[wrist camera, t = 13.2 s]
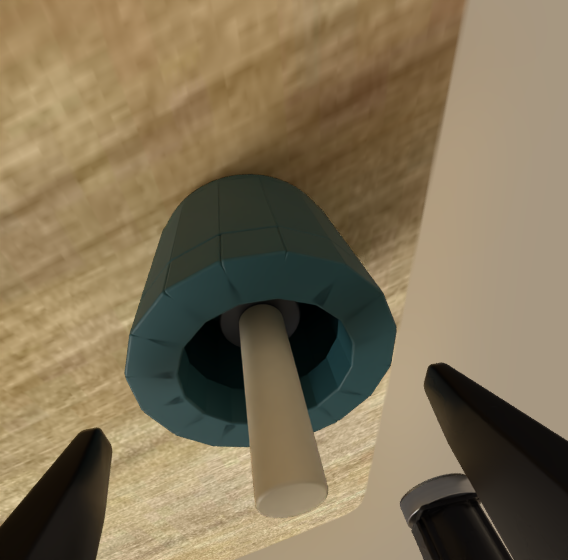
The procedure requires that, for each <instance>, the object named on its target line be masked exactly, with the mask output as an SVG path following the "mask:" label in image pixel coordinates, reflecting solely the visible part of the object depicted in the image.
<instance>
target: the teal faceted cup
mask: <svg viewBox="0 0 568 560" xmlns="http://www.w3.org/2000/svg"><path fill="white" fill-rule="evenodd" d="M272 299H284V300H290V301H296V302H298V304H299V307H300V311H301V317H300V322H299V324H298V327H297V329H296V330H295V332H294V333H293V334H292V335H291V336H290V337H289V338H288V339H289V343H290V347H291V350H292V354H293V358H294V362H295V365H296V369H297V373H298V376H299V380H300V384H301V388H302V391H303V395H304V399H305V403H306V406H307V410H308V414H309V418H310V421H311V425H312V429H313V432H316V431H318V430H320V429H322V428H325V427H327V426H329V425H331V424H333V423H336V422H337V420H340V419H342V418H343V417H344V416H346V415H347V414H348V413H349V412H351V411H352V410H353V409H354V408H356V407H357V406H358V405H359V404H361V403H362V402H363V401H364V400H366V399H367V398H368V397H369V396H371V394H372V393H373V391H374V390H375V388H376V387H377V385H378V384H379V382H380V381H381V379H382V378H383V377H384V375H385V374H386V372H387V371H388V369H389V368H390V366H391V361H392V355H393V349H394V343H395V337H396V331H397V330H396V324H395V322H394V319H393V316H392V314H391V311H390V309H389V306H388V304H387V301H386V299H385V296H384V293H383V292H382V291H381V289H380V288H379V287H378V285H377V284H376V283H375V281H374V280H373V279H372V277H371V276H370V274H369V273H368V272H367V270H366V269H365V268H364V266H363V265H362V263H361V262H360V261H359V259H358V258H357V257H356V255H355V254H354V253H353V251H352V250H351V249H350V247H349V246H348V244H347V243H346V242H345V240H344V239H343V238H342V236H341V235H340V234H339V232H338V231H337V230H336V228H335V227H334V226H333V224H332V223H331V221H330V220H329V219H328V217H327V216H326V215H325V213H324V212H323V211H322V209H321V208H319V207H318V206H317V205H316V204H315V203H314V202H313V201H312V200H311V199H310V198H309V197H308V196H307V195H306V194H305V193H303V192H302V191H301V190H299V189H298V188H297V187H295V186H293V185H291V184H289V183H287V182H285V181H282V180H279V179H277V178H273V177H268V176H264V175H253V174H246V175H234V176H229V177H224V178H221V179H218V180H215V181H212V182H210V183H208V184H206V185H204V186H202V187H200V188H199V189H197V190H196V191H194V192H193V193H191V194H190V195H189V196H188V197H187V198H186V199H185V200H183V201H182V202H181V204H180V205H179V206H178V207H177V208H176V210H175V211H174V212H173V214H172V216H171V217H170V219H169V221H168V223H167V225H166V226H165V228H164V229H163V232H162V234H161V238H160V241H159V244H158V247H157V250H156V253H155V256H154V259H153V262H152V266H151V269H150V272H149V275H148V278H147V281H146V284H145V287H144V290H143V294H142V297H141V300H140V303H139V306H138V309H137V313H136V316H135V319H134V322H133V325H132V328H131V331H130V334H129V342H128V350H127V358H126V366H125V378H126V380H127V382H128V384H129V386H130V388H131V390H132V392H133V394H134V396H135V398H136V400H137V402H138V404H139V406H140V408H141V410H142V411H144V413H146V414H147V415H148V416H150V417H151V418H152V419H154V420H155V421H157V422H158V423H159V424H161V425H162V426H164V427H165V428H166V429H168V430H169V431H171V432H172V433H174V434H175V435H176V436H180V437H183V438H187V439H190V440H194V441H197V442H201V443H204V444H208V445H211V446H221V447H250V443H249V431H248V420H247V409H246V398H245V387H244V376H243V365H242V354H241V348H240V347H238V346H236V345H234V344H232V343H231V342H230V341H228V340H227V339H226V338H225V336H224V335H223V333H222V332H221V329H220V326H219V315H221V314H223V313H225V312H227V311H229V310H230V309H232V308H234V307H236V306H238V305H241V304H247V303H253V302H260V301H266V300H272Z"/></svg>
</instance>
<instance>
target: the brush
mask: <svg viewBox="0 0 568 560" xmlns="http://www.w3.org/2000/svg"><path fill="white" fill-rule="evenodd" d="M300 317H301V311H300V307H299V304H298V302H296V301H290V300H284V299H272V300H266V301H260V302H253V303H247V304H241V305H238V306H236V307H234V308H232V309H230V310H229V311H227V312H225V313H223V314H221V315H219V326H220V329H221V332H222V333H223V335H224V336H225V338H226V339H227V340H228V341H230V342H231V343H232V344H234V345H236V346H238V347H240V348H241V354H242V365H243V376H244V387H245V398H246V409H247V420H248V431H249V443H250V454H251V465H252V476H253V487H254V498H255V506H256V509H257V511H258V512H259V513H260V514H262V515H263V516H266V517H270V518H288V517H294V516H298V515H301V514H304V513H306V512H309V511H311V510H313V509H314V508H316V507H318V506H319V505H320V504H321V503H323V502H324V500H325V499H326V497H327V495H328V485H327V481H326V478H325V474H324V470H323V466H322V463H321V459H320V455H319V451H318V448H317V444H316V440H315V436H314V433H313V429H312V425H311V421H310V418H309V414H308V410H307V406H306V403H305V399H304V395H303V391H302V388H301V384H300V380H299V376H298V373H297V369H296V365H295V362H294V358H293V354H292V350H291V347H290V343H289V339H288V338H289V337H290V336H291V335H292V334H293V333H294V332H295V330H296V329H297V327H298V324H299V322H300Z"/></svg>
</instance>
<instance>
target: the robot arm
mask: <svg viewBox="0 0 568 560" xmlns="http://www.w3.org/2000/svg"><path fill="white" fill-rule="evenodd" d="M424 389H425V392H426V395H427V397H428V399H429V401H430V404H431V406H432V408H433V411H434V413H435V415H436V417H437V420H438V422H439V424H440V426H441V428H442V431H443V433H444V435H445V437H446V439H447V442H448V444H449V446H450V447H451V449H452V451H453V453H454V455H455V457H456V458H457V460H458V462H459V463H460V465H461V467H462V469H463V471H464V473H465V474H466V476H467V478H468V480H469V481H470V483H471V485H472V487H473V488H474V490H475V493H471V494H467V495H462V496H458V497H454V498H450V499H446V500H441V501H437V502H433V503H429V504H425V505H422V506H421V507H420V509H419V511H418V514H417V517H416V520H415V522H414V525H413V528H412V533H413V536H414V537H415V540H416V542H417V545H418V546H419V549H420V552H421V554H422V556H423V559H424V560H513V559H514V560H568V441H567V440H565V439H564V438H562V437H561V436H559V435H558V434H556V433H554V432H553V431H551V430H550V429H548V428H547V427H545V426H543V425H542V424H540V423H539V422H537V421H536V420H534V419H532V418H531V417H529V416H528V415H526V414H525V413H523V412H521V411H520V410H518V409H517V408H515V407H514V406H512V405H510V404H509V403H507V402H506V401H504V400H503V399H501V398H499V397H498V396H496V395H495V394H493V393H492V392H489V391H488V390H487V389H485V388H484V387H482V386H480V385H479V384H477V383H476V382H474V381H473V380H471V379H469V378H468V377H466V376H465V375H463V374H462V373H460V372H458V371H457V370H455V369H453V368H452V367H451V366H449V365H447V364H445V363H436V364H431V365H430V366H429V367H428V369H427V373H426V377H425V381H424ZM111 459H112V447H111V444H110V442H109V441H108V439H107V438H106V436H105V435H104V433H103V431H102V430H101V429H100V428H91V429H86V430H83V431H81V432H80V433H79V434H78V435H77V436H76V437H75V438H74V439H73V441H72V442H71V443H70V444H69V445H68V447H67V448H66V449H65V450H64V451H63V453H62V454H61V455H60V456H59V457H58V458H57V460H56V461H55V462H54V463H53V464H52V466H51V467H50V468H49V469H48V470H47V472H46V473H45V474H44V475H43V476H42V478H41V479H40V480H39V481H38V482H37V484H36V485H35V486H34V487H33V488H32V489H31V491H30V492H29V493H28V494H27V495H26V497H25V498H24V499H23V500H22V501H21V503H20V504H19V505H18V506H17V507H16V509H15V510H14V511H13V512H12V513H11V515H10V516H9V517H8V518H7V519H6V521H5V522H4V523H3V524H2V525H1V526H0V560H96V556H97V551H98V547H99V542H100V538H101V533H102V528H103V523H104V518H105V511H106V503H107V494H108V485H109V476H110V468H111ZM480 503H482V504H483V506H484V508H485V510H486V511H487V513H488V515H489V517H490V518H491V520H492V522H493V524H494V526H495V527H496V529H497V531H498V533H499V534H500V536H501V538H502V540H503V541H504V543H505V545H506V547H507V548H508V550H509V552H510V554H511V556H512V557H513V559H512V558H511V556H510V554H509V553H508V551H507V550H506V548H505V546H504V545H503V543H502V541H501V539H500V538H499V536H498V534H497V533H496V531H495V529H494V528H493V526H492V524H491V523H490V521H489V519H488V518H487V516H486V515H485V513H484V511H483V510H482V508H481V506H480V505H479V504H480Z"/></svg>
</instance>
